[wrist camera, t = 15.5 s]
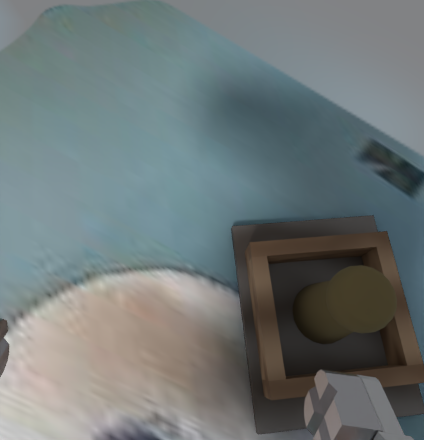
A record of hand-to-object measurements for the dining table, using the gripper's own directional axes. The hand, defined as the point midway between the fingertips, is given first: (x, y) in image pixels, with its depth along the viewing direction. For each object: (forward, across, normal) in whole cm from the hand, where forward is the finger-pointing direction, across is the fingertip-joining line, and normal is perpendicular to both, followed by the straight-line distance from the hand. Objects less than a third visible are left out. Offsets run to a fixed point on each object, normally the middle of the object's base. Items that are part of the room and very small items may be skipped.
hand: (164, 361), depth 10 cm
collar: (+24, -15, +16) cm, 32 cm away
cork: (+23, -15, +15) cm, 32 cm away
